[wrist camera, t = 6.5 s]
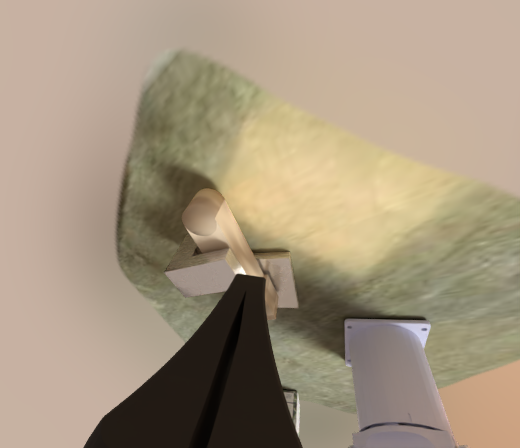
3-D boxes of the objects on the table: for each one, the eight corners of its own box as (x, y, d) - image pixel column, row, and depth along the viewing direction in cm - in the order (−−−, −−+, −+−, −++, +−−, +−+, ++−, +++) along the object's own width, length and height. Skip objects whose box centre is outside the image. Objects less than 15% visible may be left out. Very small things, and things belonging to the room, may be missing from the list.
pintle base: (298, 301, 27) (296, 341, 24) (235, 300, 29) (224, 338, 25) (289, 251, 23) (285, 291, 20) (216, 254, 25) (201, 291, 21)
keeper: (255, 242, 23) (244, 288, 19) (205, 254, 25) (185, 297, 21) (241, 216, 21) (225, 259, 17) (189, 230, 23) (163, 272, 19)
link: (278, 296, 25) (275, 319, 23) (249, 299, 26) (243, 321, 24) (221, 183, 19) (210, 201, 17) (184, 194, 20) (170, 212, 18)
